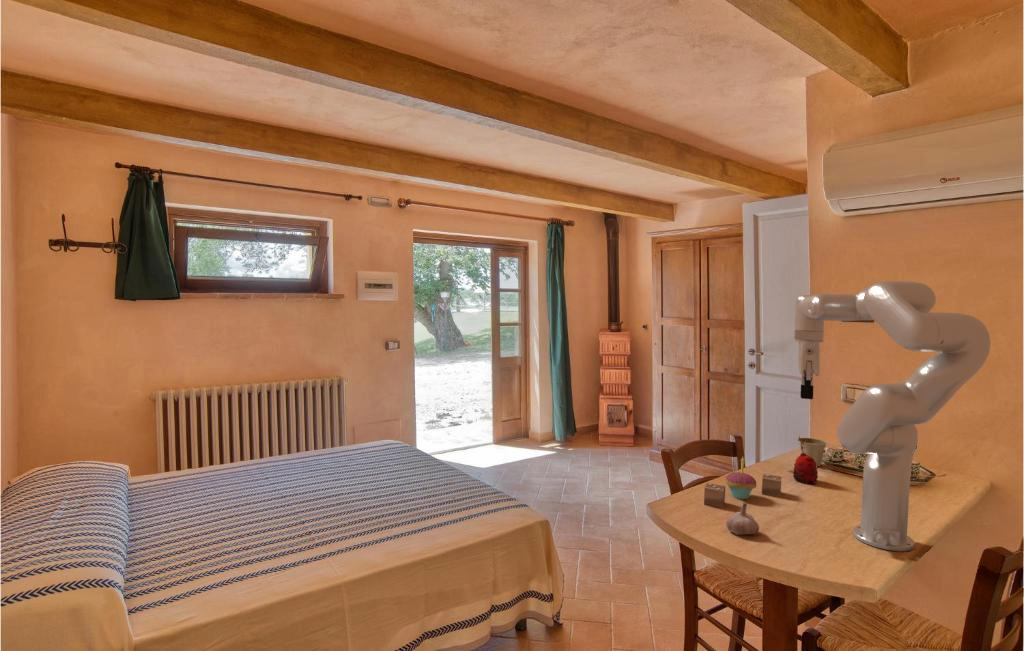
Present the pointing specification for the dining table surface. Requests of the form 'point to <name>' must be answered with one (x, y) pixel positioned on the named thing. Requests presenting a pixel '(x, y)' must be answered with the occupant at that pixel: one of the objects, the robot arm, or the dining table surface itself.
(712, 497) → the three dot block
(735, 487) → the cupcake
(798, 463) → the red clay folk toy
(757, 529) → the garlic bulb
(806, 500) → the dining table surface
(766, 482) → the two dot block
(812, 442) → the flower pot
